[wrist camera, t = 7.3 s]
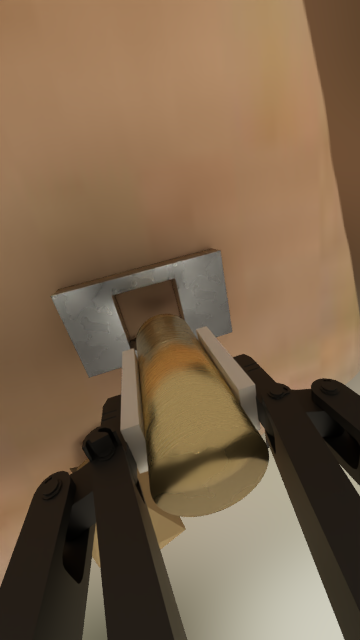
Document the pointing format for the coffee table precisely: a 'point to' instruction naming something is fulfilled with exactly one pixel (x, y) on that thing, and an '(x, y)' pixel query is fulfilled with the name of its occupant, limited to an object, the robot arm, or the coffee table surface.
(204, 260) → the metal plate with hole
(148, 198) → the coffee table surface
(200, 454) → the gold peg
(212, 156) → the coffee table surface
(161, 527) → the faceted tan rock
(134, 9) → the coffee table surface
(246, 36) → the coffee table surface
